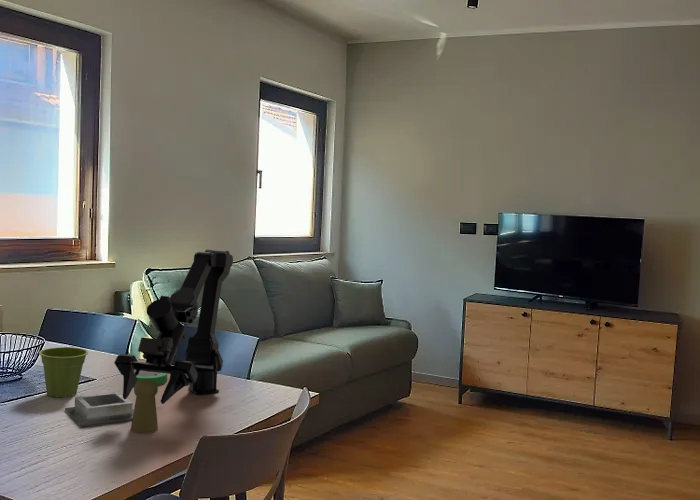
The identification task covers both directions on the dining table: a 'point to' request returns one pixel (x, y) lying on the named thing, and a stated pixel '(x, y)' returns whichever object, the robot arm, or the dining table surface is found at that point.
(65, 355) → the plant pot
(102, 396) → the steel collar socket
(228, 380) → the dining table surface
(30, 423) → the dining table surface
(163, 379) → the tape roll
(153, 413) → the olive knobbed peg
